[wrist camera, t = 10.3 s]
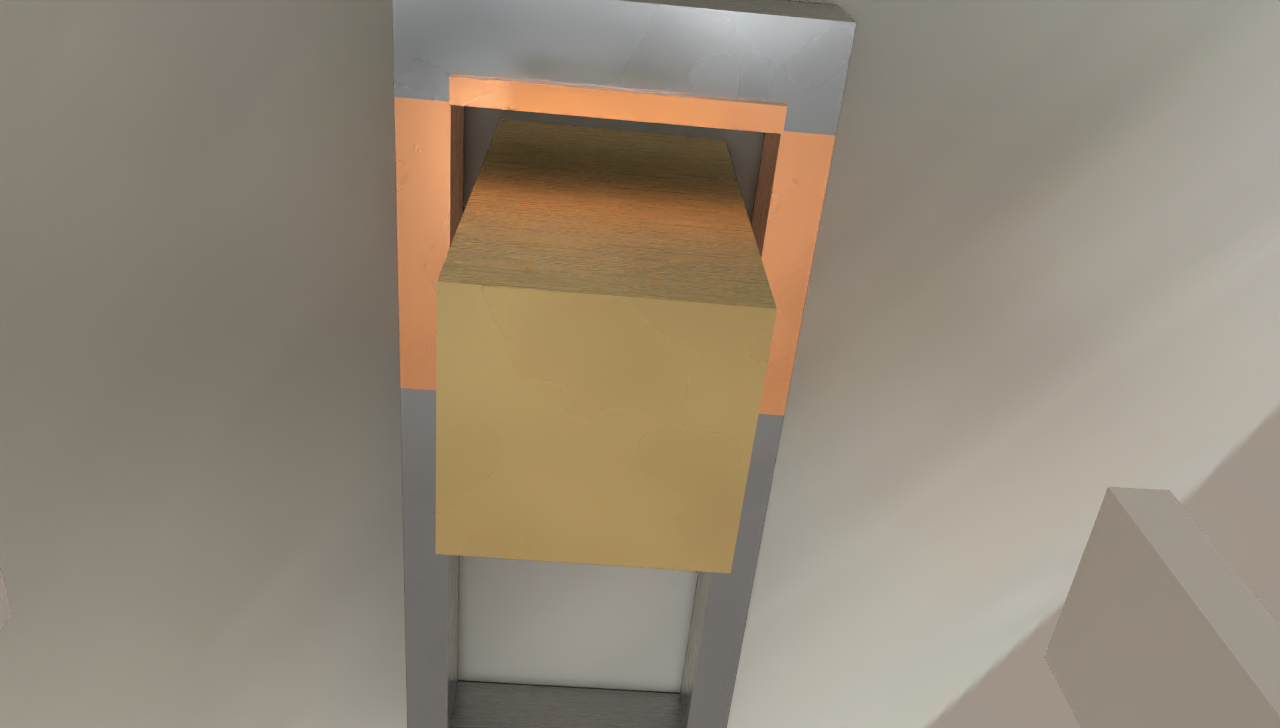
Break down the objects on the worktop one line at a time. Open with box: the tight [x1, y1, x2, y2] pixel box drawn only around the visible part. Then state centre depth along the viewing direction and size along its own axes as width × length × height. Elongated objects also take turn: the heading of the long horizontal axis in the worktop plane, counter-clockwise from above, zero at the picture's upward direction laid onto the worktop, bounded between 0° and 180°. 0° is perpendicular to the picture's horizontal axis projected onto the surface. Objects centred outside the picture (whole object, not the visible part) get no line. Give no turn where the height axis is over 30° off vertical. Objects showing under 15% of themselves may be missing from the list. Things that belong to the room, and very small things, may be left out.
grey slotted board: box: [392, 0, 856, 728], centre depth 23 cm, size 8×20×2 cm, turn 175°
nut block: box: [436, 119, 777, 573], centre depth 18 cm, size 4×4×8 cm
